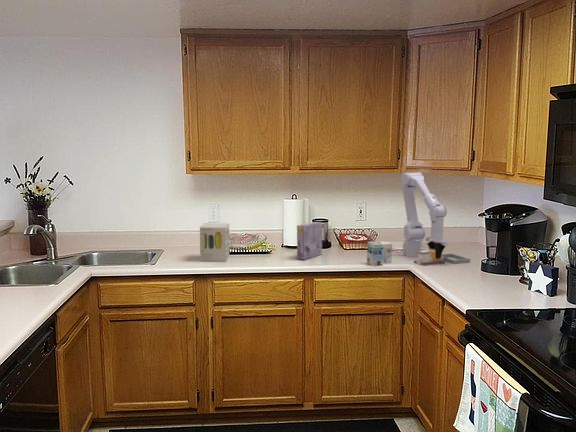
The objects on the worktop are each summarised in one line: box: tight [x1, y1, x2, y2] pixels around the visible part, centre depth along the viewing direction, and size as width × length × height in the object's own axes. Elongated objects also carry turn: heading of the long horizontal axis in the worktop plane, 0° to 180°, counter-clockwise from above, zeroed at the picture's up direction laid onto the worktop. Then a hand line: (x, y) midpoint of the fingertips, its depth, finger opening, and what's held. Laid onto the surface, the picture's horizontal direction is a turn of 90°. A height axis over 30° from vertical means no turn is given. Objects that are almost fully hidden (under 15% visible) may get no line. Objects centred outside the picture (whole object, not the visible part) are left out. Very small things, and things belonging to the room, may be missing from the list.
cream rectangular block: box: [417, 250, 430, 263], centre depth 271 cm, size 3×5×6 cm
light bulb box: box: [366, 240, 393, 267], centre depth 273 cm, size 11×7×11 cm, turn 105°
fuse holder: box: [412, 257, 448, 267], centre depth 273 cm, size 9×14×4 cm, turn 114°
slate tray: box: [442, 252, 471, 265], centre depth 278 cm, size 14×10×3 cm
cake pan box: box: [296, 221, 323, 261], centre depth 288 cm, size 19×5×18 cm, turn 146°
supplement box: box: [199, 222, 230, 263], centre depth 282 cm, size 13×13×18 cm
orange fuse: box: [429, 249, 443, 262], centre depth 274 cm, size 3×5×6 cm
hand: (435, 257), depth 274 cm, fingers closed on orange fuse, 3 cm apart
